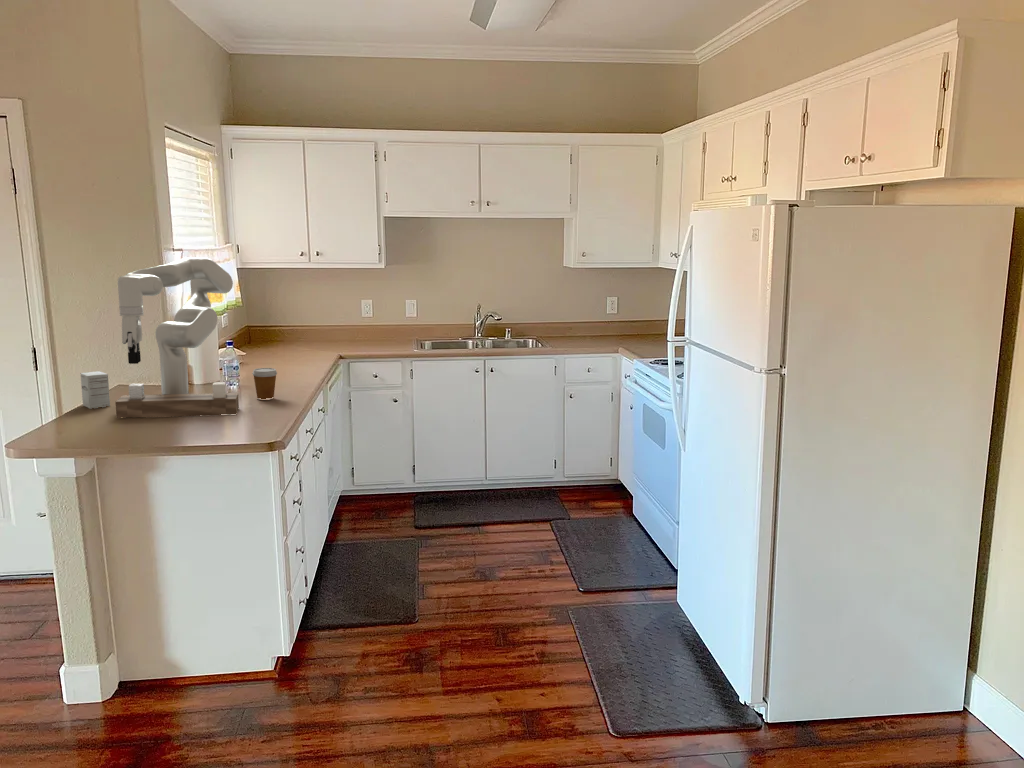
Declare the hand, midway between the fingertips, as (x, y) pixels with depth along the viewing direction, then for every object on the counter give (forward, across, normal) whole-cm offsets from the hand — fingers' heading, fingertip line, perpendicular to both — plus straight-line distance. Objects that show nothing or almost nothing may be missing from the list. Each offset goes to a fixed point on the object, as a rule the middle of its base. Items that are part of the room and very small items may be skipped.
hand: (134, 362), depth 271 cm
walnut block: (+19, 0, +14) cm, 24 cm away
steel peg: (+14, 0, 0) cm, 14 cm away
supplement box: (+19, -16, -17) cm, 31 cm away
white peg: (+14, 0, +28) cm, 31 cm away
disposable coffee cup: (+19, -22, +43) cm, 52 cm away
